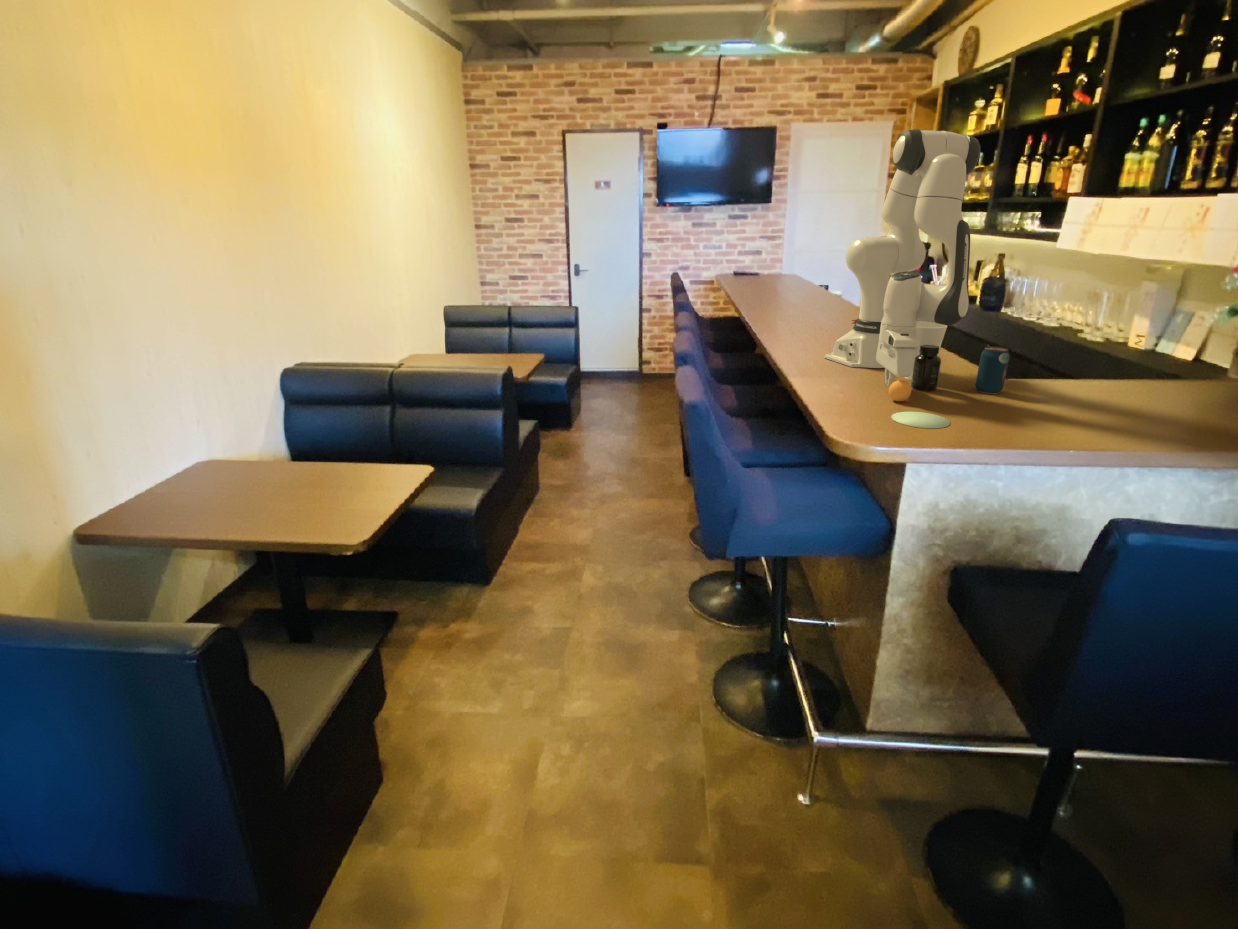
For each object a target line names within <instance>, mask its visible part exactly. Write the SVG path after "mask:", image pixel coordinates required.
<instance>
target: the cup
mask: <svg viewBox="0 0 1238 929" xmlns="http://www.w3.org/2000/svg"><path fill="white" fill-rule="evenodd" d="M916 322H917V325H916V334H917V337H918V338H919V347H918V348H915V349H916V356H917V355H919V354H920V352H919V351H920V346H921V345H935V346H939V351H940V350H941V347H942V344H943V340H944V338H945V334H946V331H947V328H948V326H947V325H942V324H938V323H935V322H927V321H919V320H916ZM937 355H938V356H939V354H937ZM916 356H915V357H916ZM913 367H914V366H913ZM912 374H913V371H912V373H911V375H910V376H909V377H903V378H904V379H906V380H908V381H912Z"/></svg>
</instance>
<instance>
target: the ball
mask: <svg viewBox="0 0 1238 929" xmlns="http://www.w3.org/2000/svg"><path fill="white" fill-rule="evenodd" d="M888 387H889V386H888ZM911 393H912V387H911V384H910V383H908V381H905V380H896V381H895V382H893V383H892V384H891V385H890V387H889V388H888V396H889V397H890V399H891V400H893V401H895V402H904V401H907V400H908V399H909V398H910V396H911Z"/></svg>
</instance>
